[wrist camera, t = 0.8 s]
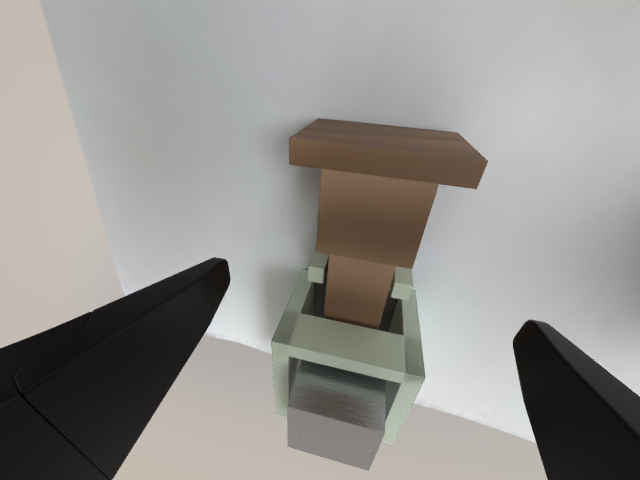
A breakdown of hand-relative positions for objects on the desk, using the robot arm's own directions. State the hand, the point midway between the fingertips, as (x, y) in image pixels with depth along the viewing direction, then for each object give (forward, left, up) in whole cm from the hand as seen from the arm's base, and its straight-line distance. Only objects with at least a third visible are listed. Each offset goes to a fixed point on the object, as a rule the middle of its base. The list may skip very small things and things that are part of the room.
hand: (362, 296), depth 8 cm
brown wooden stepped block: (0, +6, -9) cm, 11 cm away
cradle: (0, +10, -9) cm, 14 cm away
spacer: (0, +12, -5) cm, 13 cm away
